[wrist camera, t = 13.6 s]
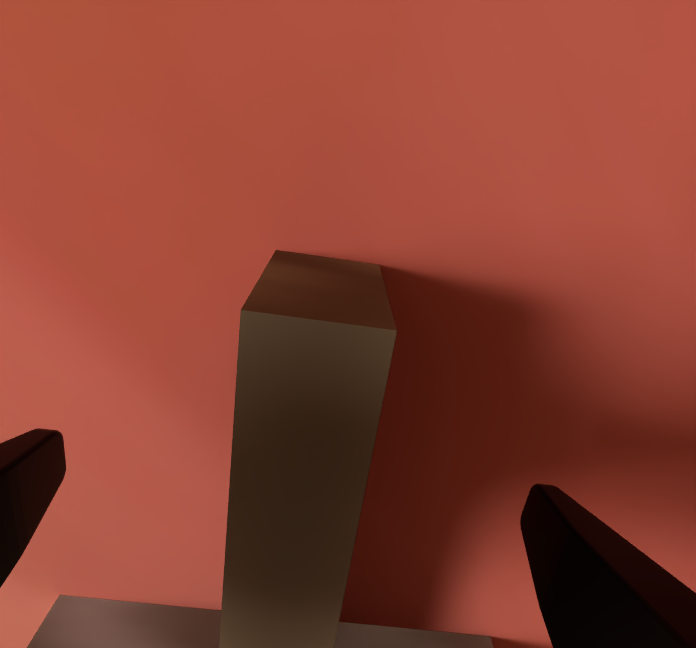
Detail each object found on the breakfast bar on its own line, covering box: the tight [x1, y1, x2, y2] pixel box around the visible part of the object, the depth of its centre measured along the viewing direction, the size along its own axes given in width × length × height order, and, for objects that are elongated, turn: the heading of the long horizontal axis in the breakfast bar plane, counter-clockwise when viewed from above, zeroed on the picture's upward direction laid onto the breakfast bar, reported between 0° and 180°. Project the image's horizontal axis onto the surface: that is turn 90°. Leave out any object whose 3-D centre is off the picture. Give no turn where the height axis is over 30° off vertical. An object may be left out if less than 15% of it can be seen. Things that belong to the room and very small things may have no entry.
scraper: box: [27, 250, 494, 648], centre depth 12 cm, size 14×14×4 cm
